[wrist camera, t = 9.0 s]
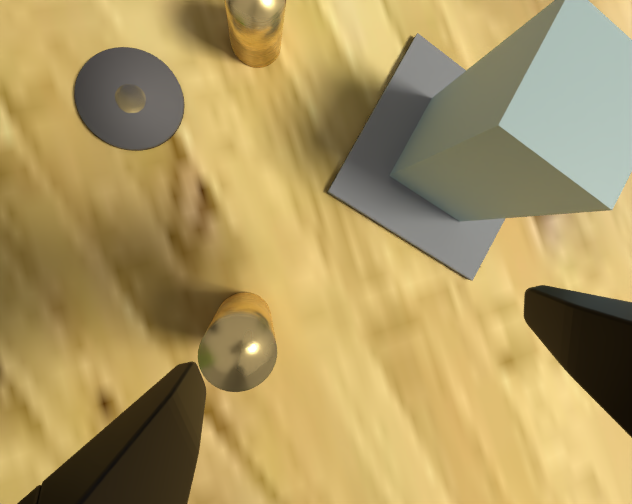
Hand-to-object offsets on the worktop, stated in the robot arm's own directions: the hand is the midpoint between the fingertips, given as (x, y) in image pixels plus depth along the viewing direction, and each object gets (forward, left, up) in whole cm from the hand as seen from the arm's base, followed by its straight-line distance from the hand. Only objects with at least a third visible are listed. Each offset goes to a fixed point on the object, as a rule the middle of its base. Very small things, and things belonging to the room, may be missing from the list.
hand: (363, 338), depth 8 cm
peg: (-4, 0, -12) cm, 13 cm away
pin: (+7, +13, -12) cm, 19 cm away
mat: (+13, 0, -12) cm, 17 cm away
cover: (+13, 0, -12) cm, 17 cm away
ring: (-1, +14, -12) cm, 19 cm away
